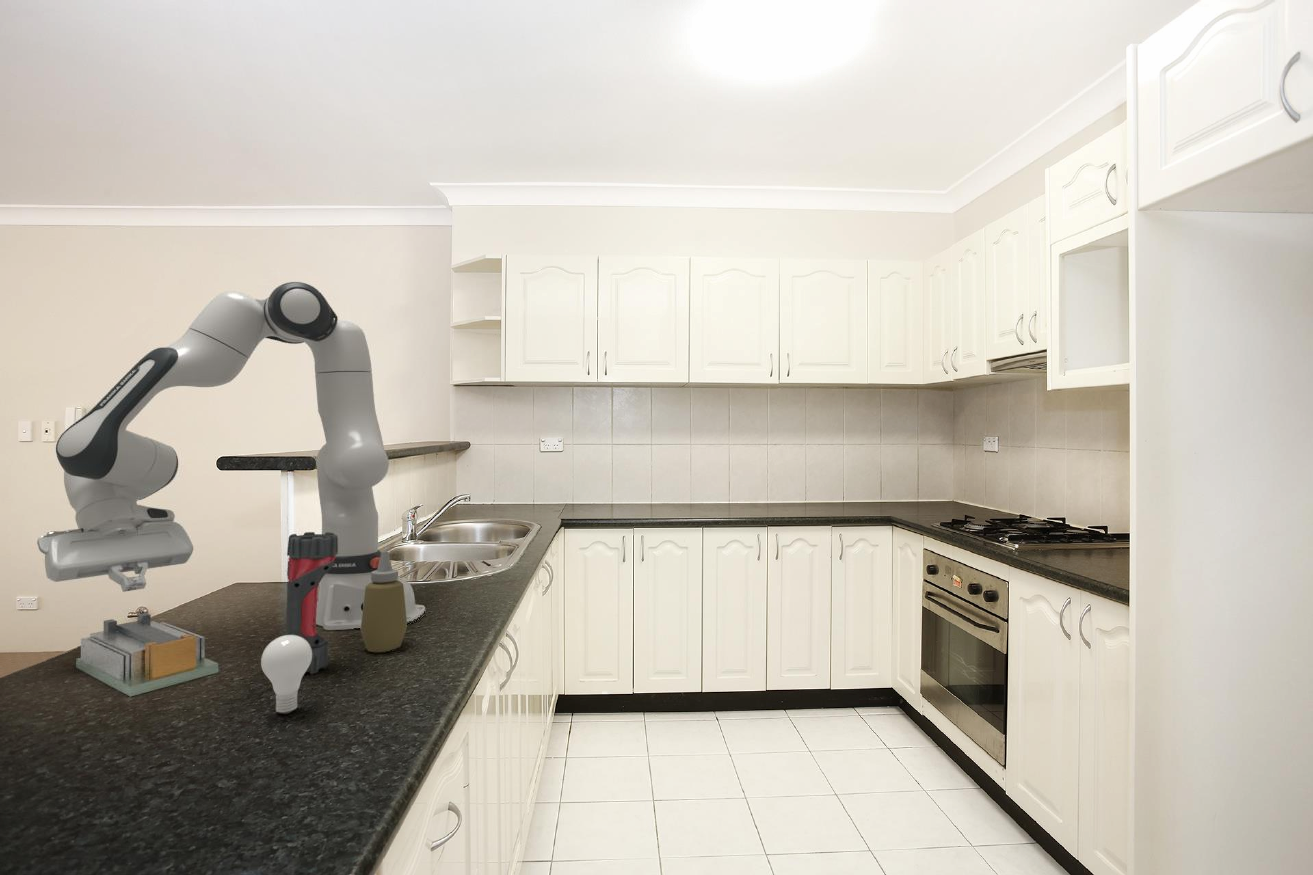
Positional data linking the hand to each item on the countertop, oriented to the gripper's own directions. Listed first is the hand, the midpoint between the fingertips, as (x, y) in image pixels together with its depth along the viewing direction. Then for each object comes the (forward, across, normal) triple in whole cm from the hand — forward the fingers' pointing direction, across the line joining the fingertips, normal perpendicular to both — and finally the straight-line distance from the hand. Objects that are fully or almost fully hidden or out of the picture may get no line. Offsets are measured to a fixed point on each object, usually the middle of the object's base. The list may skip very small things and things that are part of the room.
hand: (135, 588), depth 111 cm
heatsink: (+13, 0, +6) cm, 14 cm away
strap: (+9, 0, +2) cm, 9 cm away
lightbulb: (+38, +4, -20) cm, 43 cm away
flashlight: (+29, +15, -10) cm, 34 cm away
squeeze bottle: (+29, +28, -10) cm, 42 cm away
